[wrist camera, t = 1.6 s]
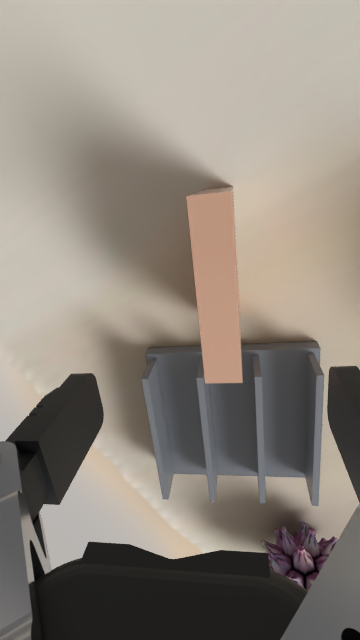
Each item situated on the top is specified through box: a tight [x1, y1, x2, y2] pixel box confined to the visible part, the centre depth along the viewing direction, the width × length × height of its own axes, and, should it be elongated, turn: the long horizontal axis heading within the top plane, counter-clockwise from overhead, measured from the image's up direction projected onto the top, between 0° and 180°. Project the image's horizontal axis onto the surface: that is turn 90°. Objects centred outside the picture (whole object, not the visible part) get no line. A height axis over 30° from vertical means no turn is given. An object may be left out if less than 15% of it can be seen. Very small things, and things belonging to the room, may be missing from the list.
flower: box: [261, 522, 338, 591], centre depth 38 cm, size 12×12×12 cm
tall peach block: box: [186, 186, 243, 383], centre depth 26 cm, size 12×2×12 cm, turn 7°
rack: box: [142, 341, 324, 506], centre depth 35 cm, size 16×17×6 cm
